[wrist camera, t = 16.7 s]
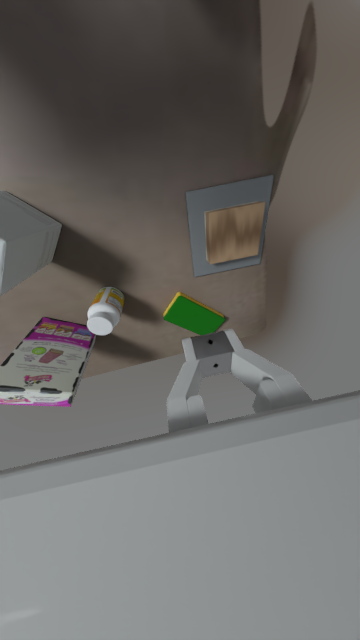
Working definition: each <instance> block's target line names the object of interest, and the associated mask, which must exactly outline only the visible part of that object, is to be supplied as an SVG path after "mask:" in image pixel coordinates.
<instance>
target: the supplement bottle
mask: <svg viewBox="0 0 360 640" xmlns="http://www.w3.org/2000/svg"><path fill="white" fill-rule="evenodd" d="M123 305H124V296H123V294H122V293H121V291H119V290H118V289H116V288H114V287H104V288H102V289H101V290H100V291H99V292H98V294H97V295H96V297H95V299H94V301H93V303H92V304H91V306H90V308H89V310H88V319H89V320H88V322H87V327H88V329H89V330H90V331H91V332H92V333H94V334H96V335H107V334H109V333H111V331H112V330H113V327H115V326H116V325H117V324H118V323H119V320H120V317H121V313H122V309H123Z"/></svg>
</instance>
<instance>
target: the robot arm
mask: <svg viewBox="0 0 360 640" xmlns="http://www.w3.org/2000/svg"><path fill="white" fill-rule="evenodd" d="M182 343H183V348H184V353H185V357H186V362H185V363H184V364H183V366H182V368H181V370H180V373H179V375H178V377H177V379H176V381H175V384H174V386H173V388H172V390H171V392H170V394H169V397H168V399H167V414H168V427H169V433H166V434H161V435H157V436H152V437H148V438H143V439H139V440H134V441H130V442H125V443H121V444H116V445H112V446H107V447H103V448H99V449H94V450H89V451H85V452H80V453H76V454H72V455H67V456H63V457H58V458H54V459H49V460H45V461H40V462H36V463H31V464H27V465H23V466H18V467H14V468H9V469H5V470H0V640H360V390H358V391H354V392H350V393H345V394H341V395H336V396H331V397H327V398H323V399H318V400H314V401H312V400H311V398H310V397H309V396H308V394H307V393H306V392H305V391H304V389H303V388H302V387H301V385H300V384H299V383H298V381H297V380H296V379H295V377H294V376H293V375H292V374H291V373H289V372H288V371H286V370H284V369H282V368H281V367H279V366H277V365H275V364H274V363H272V362H270V361H268V360H266V359H264V358H263V357H261V356H259V355H257V354H256V353H254V352H252V351H250V350H249V349H245V348H244V347H243V345H242V344H241V342H240V340H239V339H238V337H237V335H236V334H235V332H234V330H233V329H232V328H231V329H227V330H222V331H218V332H213V333H209V334H205V335H200V336H195V337H190V338H185V339H182ZM228 372H231V374H233V375H234V376H235V377H236V378H237V379H238V380H240V381H241V382H242V383H243V384H244V385H246V386H247V387H248V388H249V389H250V390H251V391H253V392H254V393H255V394H256V397H255V400H254V403H253V408H254V411H255V414H251V415H246V416H242V417H238V418H233V419H228V420H225V421H220V422H215V423H210V424H208V420H207V416H206V413H205V409H204V405H203V401H202V397H201V396H199V395H198V392H199V388H200V385H201V381H202V378H205V377H209V376H213V375H218V374H223V373H228Z"/></svg>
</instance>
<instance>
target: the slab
mask: <svg viewBox="0 0 360 640" xmlns="http://www.w3.org/2000/svg"><path fill="white" fill-rule="evenodd" d="M264 209H265V202H252V203H247V204H242V205H237V206H232V207H227V208H221V209H216V210H211V211H206V212H205V234H206V256H207V261H208V262H209V263H210V264H214V263H219V262H224V261H229V260H234V259H239V258H244V257H249V256H254V255H258V250H259V243H260V236H261V229H262V223H263V216H264Z"/></svg>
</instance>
